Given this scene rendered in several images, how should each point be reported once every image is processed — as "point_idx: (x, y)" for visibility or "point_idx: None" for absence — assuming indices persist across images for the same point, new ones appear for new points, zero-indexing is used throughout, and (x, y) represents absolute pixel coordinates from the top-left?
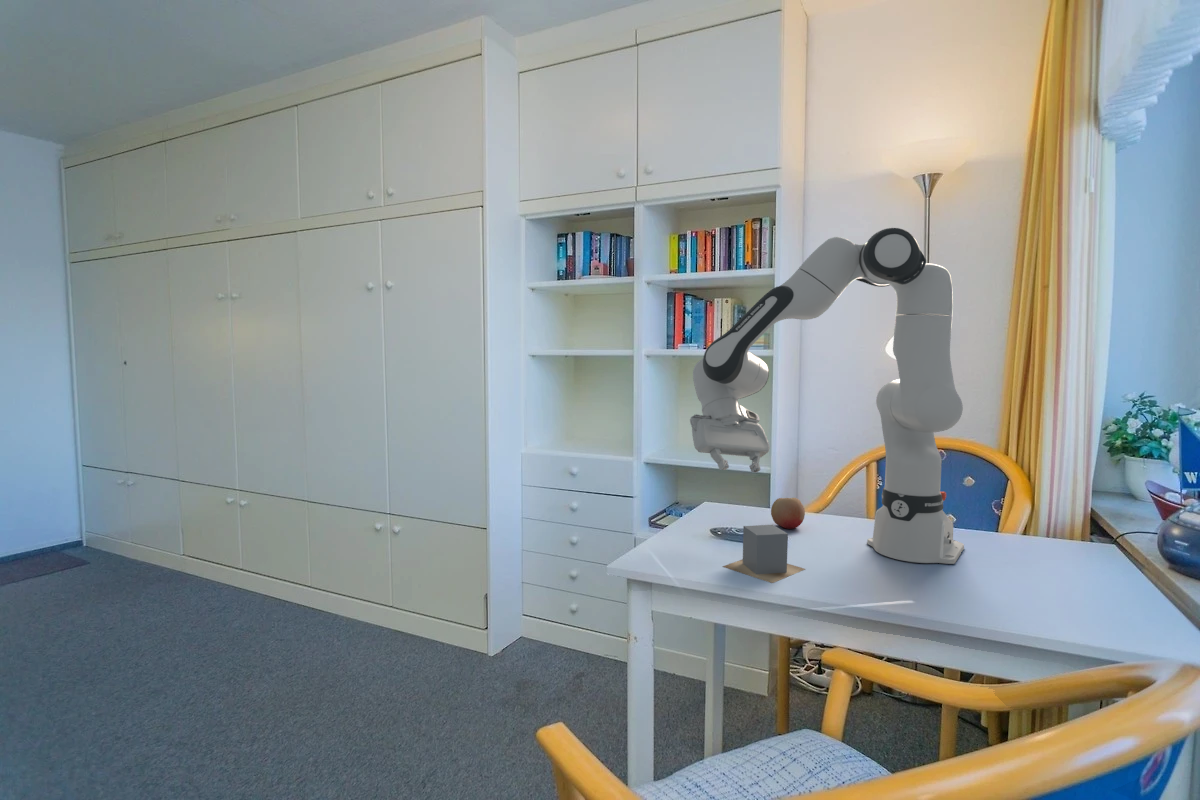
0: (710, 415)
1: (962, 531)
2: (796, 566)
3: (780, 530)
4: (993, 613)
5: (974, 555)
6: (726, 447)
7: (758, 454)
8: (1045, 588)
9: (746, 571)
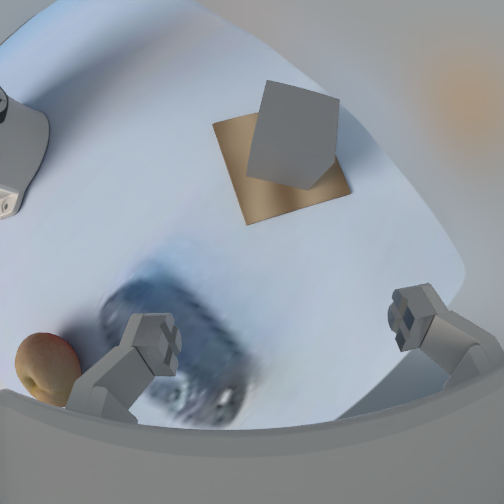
0: None
1: None
2: (218, 138)
3: (267, 100)
4: (133, 5)
5: None
6: (449, 389)
7: (78, 395)
8: (35, 47)
9: None
